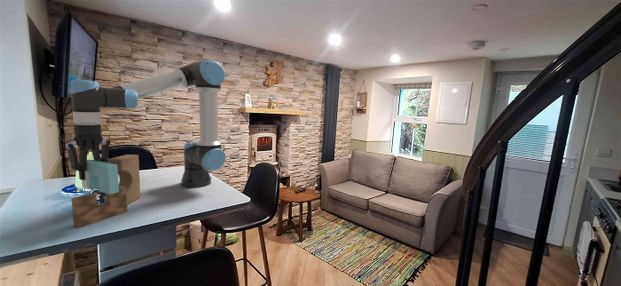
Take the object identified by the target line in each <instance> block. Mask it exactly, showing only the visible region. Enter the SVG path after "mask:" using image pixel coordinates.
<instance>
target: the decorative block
mask: <svg viewBox="0 0 621 286" xmlns="http://www.w3.org/2000/svg"><path fill="white" fill-rule="evenodd" d="M108 163H111V164H116V165H117V167H118V179H119V181H118V185H119V186H123V187H126V196H127V206H128V205H129V204H131V203H133V202H135V201H137V200H139V199H141V182H140V181H141V180H140V179H141V177H140V159H139V154H124V155H120V156H116V157H115V156H114V157H113V158H108Z"/></svg>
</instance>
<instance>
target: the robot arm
mask: <svg viewBox="0 0 621 286" xmlns="http://www.w3.org/2000/svg"><path fill="white" fill-rule="evenodd" d="M225 79H226V71H225V68H224V66H223V65H221V64H220V63H219V62H218V61H216V60H213V59H211V60H210V59H204V60H201V61H195V62H192V63H189V64H187V65H184V66H181V67H177V68H175V69H174V71H171V72H166V73H163V74H159V75H154V76H152V77H148V78H144V79H140V80H136V81H135V80H134V81H132V82H127V83H123V84H120V85H115V86H113V87H104V86H100V85H99V81H96V80H87V79H73V80H71V82H70V89H71V90H70V95H71V98H70V99H71V105H72V118H73V119H72V121H73V123H74V125H73V131H74V132H73V133H74V138H73V140H72V141H70V142H66V143H65V144H64V147H65V148H66V150H67V153H68V158H69V162H70V167H71V170H72V171H78V178H79V180H80V181H81V184H83V186H82V189H87V190H89V189H88V188H90V187H89V173H88V171H86V163H87V160H88V155H89V151H91V154H92V157H93V160H95V161H100V162H106V163H108V160H109V152H110V151H109V149H110V145H111V143H112V141H111V140H109V139H105V138H103V136H102V134H103V133H102V124H101V123H102V118H101V117H102V116H101V109H102V108H103V109H104V108H107V109H110V108H111V109H112V108H113V109H126V110H128V109H136V108H137V107H138V104H139V100H140V99H143V98H147V97H151V96H154V95H157V94H161V93H163V92H166V91H167V92H168V91H171V90H174V89H177V88H180V87H181V88H183V89H184V88H187V87H192V86H194V87H195V90H196V91H198V107H199V108H198V109H199V112H198V113H199V114H198V115H199V141H198V142H197V141H195V142H186V143H184V145H183V159H184V161H183V163H184V169H183V170H184V172H183V174H182V178H181V180H180V182H181V183H180V185H181V186H182V187H185V188H201V187H206V186H208V185H210V184H212V177H211V175H210V171H212V172H214V171H218V170H219V169H221V168H222V167H223V166H224V164H225V162H226V158H227V155H226V153H225V151H224V150H223V149H222V143H221V142H220V140H219V108H218V107H219V97H218V96H219V95H218V94H219V92H220V91H221V90H222V85H221V84H222V83H223V82H224V81H225ZM77 146H78V149H79V150H78V151H79V155H78V153H77V149H76V148H77ZM100 146H101V148H100Z"/></svg>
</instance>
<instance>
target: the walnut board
mask: <svg viewBox="0 0 621 286" xmlns="http://www.w3.org/2000/svg"><path fill="white" fill-rule="evenodd" d="M104 195H105V197H104V199H105V202H104V203H100V204H98V199H97V198H98V197H97V194H95V193H87V194H83V195H78V196H75V197H71V210H72V220H73V221H72V222H73V227H75V228H78V229H79V228H82V227H85V226H88V225H89V226H90V225H91V224H95V223H99V222H100V221H103V220H106V219H110V218H113V217H115V216H117V215H118V216H119V215H121V214H124V213H127V212H128V205H127V196H126V187H123V186H119V192H117V193H113V194H107V193H104Z"/></svg>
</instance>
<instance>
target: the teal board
mask: <svg viewBox="0 0 621 286" xmlns="http://www.w3.org/2000/svg"><path fill="white" fill-rule="evenodd" d="M86 171H88V173H89V187H90V188H88V189H87V190H96V189H99V190H98V191H99V193H104V194H105V193H107V194H113V193H117V192H119V175H118V167H117V165H116V164H111V163H106V162H100V161H95V160H94V159H87V163H86ZM81 184H82V183H81ZM81 186H82V187H83V184H82V185H81Z"/></svg>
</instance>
